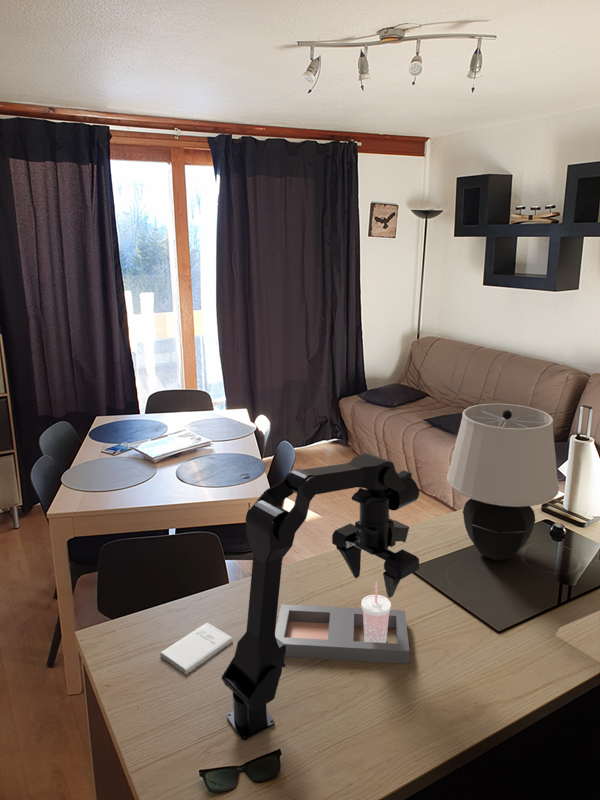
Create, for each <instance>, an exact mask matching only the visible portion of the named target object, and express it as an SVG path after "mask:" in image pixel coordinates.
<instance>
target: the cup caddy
mask: <svg viewBox="0 0 600 800" xmlns="http://www.w3.org/2000/svg"><path fill="white" fill-rule="evenodd" d="M355 626H358V627H364V623H363V609H362V607H361V608H359V607H358V608H357V607H345V606H344V607H343V606H342V607H341V606H339V607H337V606H322V605H321V606H320V605H301V604H300V605H299V604H282V603H281V604H280V609H279V613H278V616H277V621H276V629H275V637H276V638H277V639H278V640H280V641H281V642H282V643H283V644H285V645H286V653H285V657H286V658H287V657H288V658H302V659H303V658H305V659H306V658H307V659H321V660H339V661H354V662H356V661H357V662H371V663H385V664H386V663H388V664H391V663H392V664H406V665H408V664H410V646H409V635H408V634H409V633H408V627H407V617H406V611H405V610H403V609H402V610H401V609H399V610H398V609H390V611H389V619H388V628H392V629H393V628H395V634H396V636H395V637H396V643H395V642H394V643H391V642H386V643H377V642H365V641H355V639H354V638H355V637H354V635H355Z"/></svg>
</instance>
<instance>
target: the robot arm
mask: <svg viewBox="0 0 600 800" xmlns="http://www.w3.org/2000/svg"><path fill="white" fill-rule="evenodd" d="M355 488H356V489H357V488H358V490H357V491H356V492H354V493H353V495H352V496H351V500H352V501H354V502H356V503H357V504H359V520H357V521H355V522H354V524H353V523H348V524H346V525H344V526H341V527H339V528H337V529H335V530H333V533H332V536H331V541H332V542H331V543H332V544H333V545H335V546H336V549H337V550H338V552H339V553H340V555H341V556H342V558H343V559H344V561H345V563H346V565H347V566H348V568H349V571H350V572H351V574H352V575H353V577H354V579H357V578H360V576H361V575H360V574H361V564H362V563H361V561H362V559H361V556H362V555H361V554H362V551H363V552H365V553H368V554H369V555H371V556H376V557H378V558H379V559H382V560H384V562H383V569H384V572H382V576H383V579H384V585H385V592H386V595H387V598H388V599H391V598H392V597H393V596H394V595H395V594H396V593H395V592H396V590H397V588H398V587H399V583H400V581H401V580H403V579H405V578H407V577H408V576H410V575H412V574H413V573H415V572H417V571H418V570H419V569H420V558H419V557H417V555H415V554H412V553H410V552H409V551H408V550H405V549H400V550H398V551H396V552H395V551H392V550H390V549H389V547H390V548H393V547H395V546H396V542H403V543H406V541H407V538H408V534H409V530H410V526H408V525H407V524H404V523H402V522H400V521H398V520H395V519H392V518H390V511H397V510H400V509H401V508H403V507H405V506H408V505H410V504H412V503H414V502H416V501H417V500H418V499H419V496H420V489H419V487H418V485H417V483H416V481H415V480H414V479H413V478H412V472H410V471H407V470H401V471H400V472H398V473H397V471H396V468H395V464H394V462H393V461H391V460H388V459H385V458H382V457H379V456H376V455H374V454H371V453H368V452H365V453H362V454H359V455H357V456H354V457H352V458H351V460H350V461H349V462H346V463H341V464H340V463H339V464H333V465H326V466H319V467H311V468H305V469H300V468H294V469H292V470H289V472H288V473H287V474H286V475H285V477H284V478H283V479H282V480H281V481H279V482H277V483H276V484H273V485H272V486H271V487H269V488H268V489H267V488H266V489H265V490H264V492H263V493H262V494H260V495H259V496H260V497H258V499H257V500H256V501H255V503H253V505H252V506H251V507H250V508H248V509H247V512H246V516H245V529H246V530H245V531H246V538H247V541H248V544H249V546H250V549H251V552H252V564H251V565H252V566H251V576H250V577H251V578H250V587H249V588H250V589H249V597H248V598H249V599H248V610H247V620H246V629H245V630H246V631H245V633H244V634H243V635H242V636H241V638H240V639H239V640H238V641H237V644H236V649H235V652H234V656H233V658H232V659H231V661H230V662H229V664H228V666H227V668H226V669H225V671H224V672H223V674H222V676H221V680H222V682H223V684H224V685H225V686H226V687H227V688H228V689H229V690H230V691H231V692H232V701H233V702H232V707H233V710H232V711H230V712H228V713H227V714H226V719H227V721H228V722H229V724H230V725H231V726H232V728H233V729H234V731H235V733H237V736H239V738H240V739H241V741H246V740H249V739H250V738H252V737H254V736H256V735H258V734H260V733H262V732H263V731H266V730H267V729H270V728H271V727H274V726H275V724H276V721H275V719H274V718H273V717H272V715H271V714H270V713H269V711H268V710H267V708H268V707H267V704H269V703H270V702H271V701H274V699H275V698H276V693H277V691H278V690H277V689H278V687H279V686H278V685H279V683H280V679H281V676H282V672H283V669H284V668H285V667H286V663H285V653H286V645H285V644H283V643H282V642H281V641H280V640H278V639H277V638H276V637H275V631H276V626H277V620H278V607H279V597H280V587H281V578H282V577H281V575H282V565H283V559H284V558H285V556H286V554H287V553H288V552H289V551H290V550H291V548H292V547H293V543H294V541H295V535H296V532H298V530H299V529H300V528H301V526H302V525H303V523H304V522H305V521H306V520H307V517H308V512H309V508H310V503H311V501H312V500H313V499H314V497H315V496H316V495H322V494H328V493H332V492H338V491H339V492H340V491H345V490H349V489H355ZM294 493H295V494H296V497H295V500H294V506H293V507H292V508H291V510H290V511H288V510H286V509H284V508H283V507H281V506H279V505H278V504H279V503H280V502H282V501H284V500H285V499H287V498H288V497H291V496H292V495H293V494H294Z"/></svg>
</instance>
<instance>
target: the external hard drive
mask: <svg viewBox="0 0 600 800" xmlns="http://www.w3.org/2000/svg"><path fill="white" fill-rule="evenodd" d="M232 643H233V637H232V636H231V635H229V634H227V633H226V632H224V631H223V630H221V629H218V628H217V627H215V626H214V625H212V624H210V623H208V622H206V623H204V624H202V625H201V626H199V627H198V628H196V629H195V630H193V631H191V632H189V633H188V634H186V635H185V636H184V637H182V638H180V639H179V640H178V641H176V642H174V643H173V644H172V645H170V646H168V647H167V648H165V649H164V650H162V651H161V652H160V657H161V658H162V659H163V660H165V661H166V660H167V661H166V662H168V663H169V662H170V663H169V664H170V665H172V664H173V665H174V666H173V665H172V666H173V667H175V666H176V667H177V668H176V667H175V668H176V669H178V670H179V669H180V670H179V671H181V672H182V671H183V672H184V673H183V672H182V673H183V674H185V675H186V674H187V675H189V674H190V673H191V672H192V671H194V670H195V669H196V667H197V666H198V667H200V666H201V665H202V664H203V663H205V662H207V661H208V660H209V659H211V658H212V657H213V656H215V655H216V654H217V653H219V652H221V651H222V650H223V649H224V648H226V647H227V646H228V645H230V644H232ZM221 649H222V650H221ZM198 667H197V668H198ZM193 669H194V670H193ZM189 672H190V673H189Z"/></svg>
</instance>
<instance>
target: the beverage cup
mask: <svg viewBox="0 0 600 800" xmlns="http://www.w3.org/2000/svg"><path fill="white" fill-rule="evenodd" d="M378 584H379V582H378V580H377V581H375V582H374V585H375V587H374V588H375V589H374V594H369V595H366V596H364V597H363V598H362V599H361V603H360V604H361V608H362V609H363V623H364V626H363V638H364V641H363V642H377V643H387V637H388V628H389V627H388V619H389V611H390V610H392V609H391V608H392V602H391V601H390V600H389V598H388V597H385V596H384V595H381V594H379V593H378V587H379V585H378Z"/></svg>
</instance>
